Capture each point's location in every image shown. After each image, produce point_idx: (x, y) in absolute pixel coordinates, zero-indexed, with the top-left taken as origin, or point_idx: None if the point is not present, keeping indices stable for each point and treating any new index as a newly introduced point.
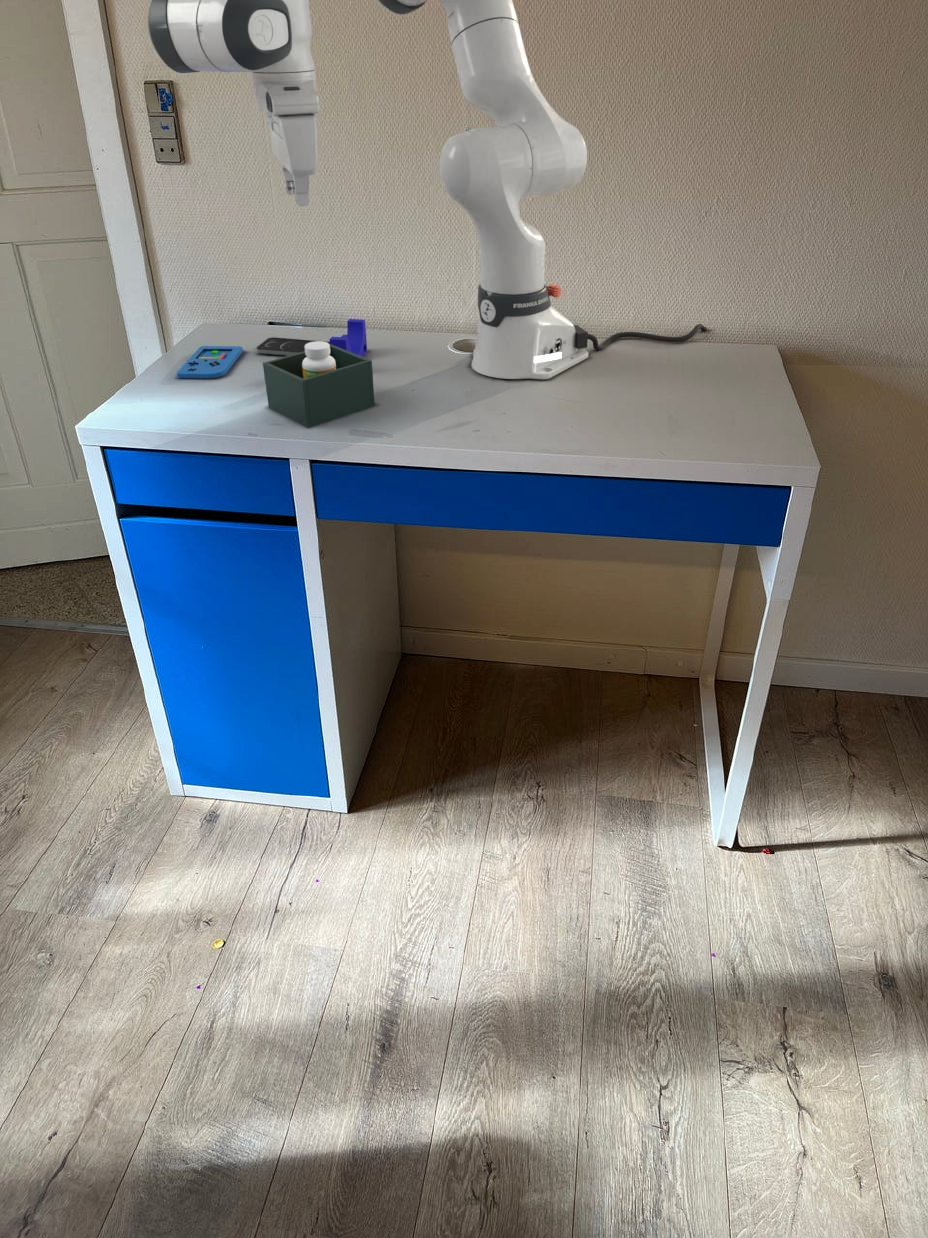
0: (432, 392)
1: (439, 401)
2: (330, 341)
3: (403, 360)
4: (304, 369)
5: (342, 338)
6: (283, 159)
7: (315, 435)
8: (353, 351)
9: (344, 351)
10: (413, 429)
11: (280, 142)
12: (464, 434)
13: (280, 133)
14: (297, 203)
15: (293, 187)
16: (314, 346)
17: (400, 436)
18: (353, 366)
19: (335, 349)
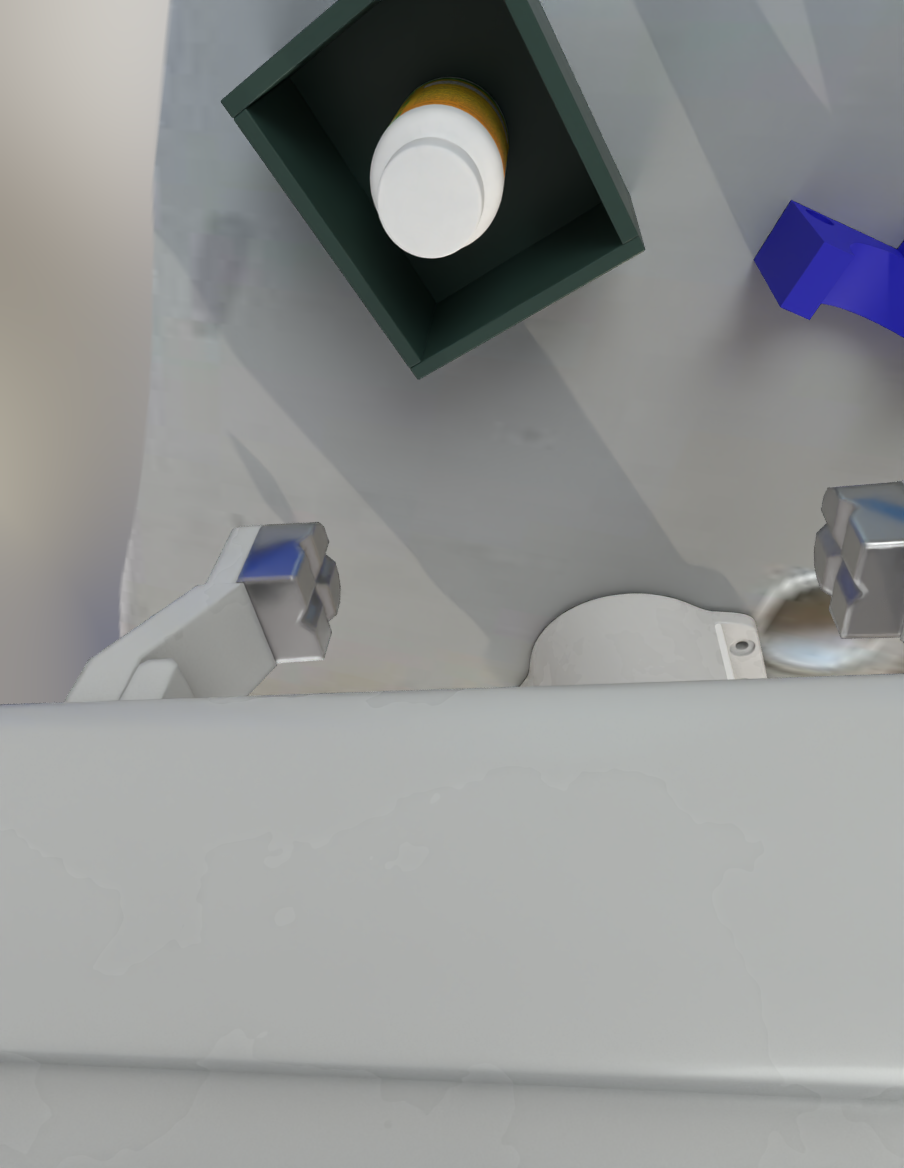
0: (501, 477)
1: (433, 482)
2: (820, 242)
3: (796, 446)
4: (403, 112)
5: (808, 296)
6: (275, 764)
7: (206, 95)
8: (895, 305)
9: (535, 297)
10: (250, 393)
11: (399, 972)
12: (218, 496)
13: (498, 1143)
14: (233, 530)
15: (840, 564)
16: (414, 192)
17: (204, 355)
18: (371, 313)
19: (586, 263)
